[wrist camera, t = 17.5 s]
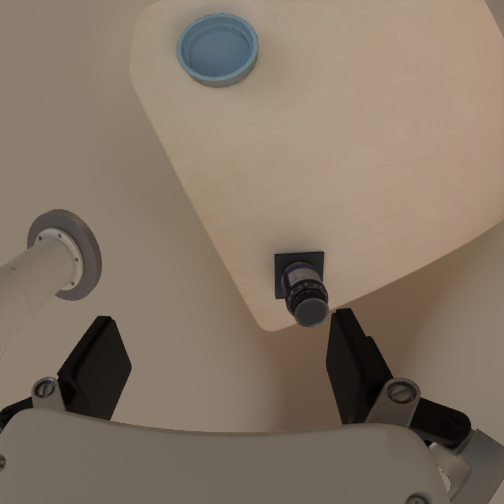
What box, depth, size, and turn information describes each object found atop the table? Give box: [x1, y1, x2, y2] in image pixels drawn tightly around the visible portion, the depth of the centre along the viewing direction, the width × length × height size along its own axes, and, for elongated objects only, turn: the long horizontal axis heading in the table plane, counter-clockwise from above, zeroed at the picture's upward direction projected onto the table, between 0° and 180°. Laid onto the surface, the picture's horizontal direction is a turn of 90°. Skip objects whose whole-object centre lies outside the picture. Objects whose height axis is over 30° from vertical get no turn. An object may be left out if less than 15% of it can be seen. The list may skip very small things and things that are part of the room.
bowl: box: [177, 13, 258, 88], centre depth 32 cm, size 11×11×5 cm
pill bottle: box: [281, 261, 329, 327], centre depth 41 cm, size 6×6×11 cm
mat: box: [275, 252, 324, 299], centre depth 47 cm, size 8×8×1 cm
